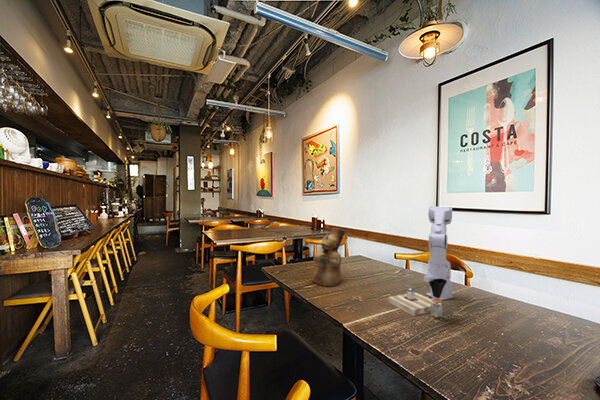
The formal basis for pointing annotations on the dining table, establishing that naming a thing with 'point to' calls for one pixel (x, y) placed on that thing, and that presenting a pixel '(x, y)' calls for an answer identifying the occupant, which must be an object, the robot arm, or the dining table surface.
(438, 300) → the cap
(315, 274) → the ceramic vessel
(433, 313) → the plunger housing
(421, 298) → the block
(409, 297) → the steel pin
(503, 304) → the dining table surface
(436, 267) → the robot arm
